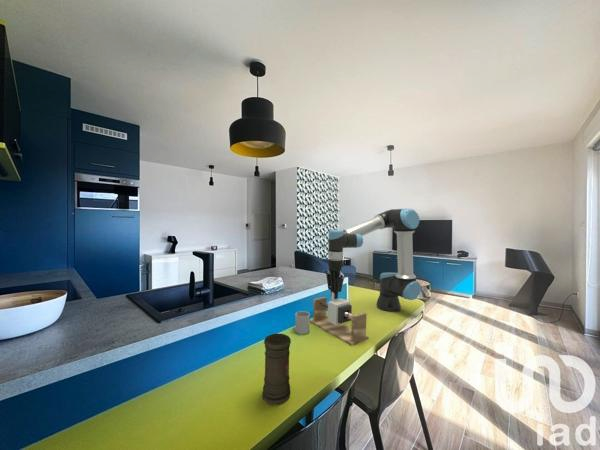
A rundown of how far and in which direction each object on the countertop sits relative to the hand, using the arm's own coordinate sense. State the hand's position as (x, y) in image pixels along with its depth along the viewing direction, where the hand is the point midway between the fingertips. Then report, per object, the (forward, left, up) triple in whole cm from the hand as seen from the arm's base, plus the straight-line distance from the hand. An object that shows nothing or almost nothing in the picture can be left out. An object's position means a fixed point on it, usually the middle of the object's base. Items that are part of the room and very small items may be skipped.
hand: (334, 304), depth 127 cm
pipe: (0, +3, -4) cm, 5 cm away
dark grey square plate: (0, +8, -6) cm, 10 cm away
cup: (+16, -7, -13) cm, 22 cm away
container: (+50, +25, -13) cm, 57 cm away
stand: (0, +3, -13) cm, 13 cm away
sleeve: (0, +4, -8) cm, 8 cm away
